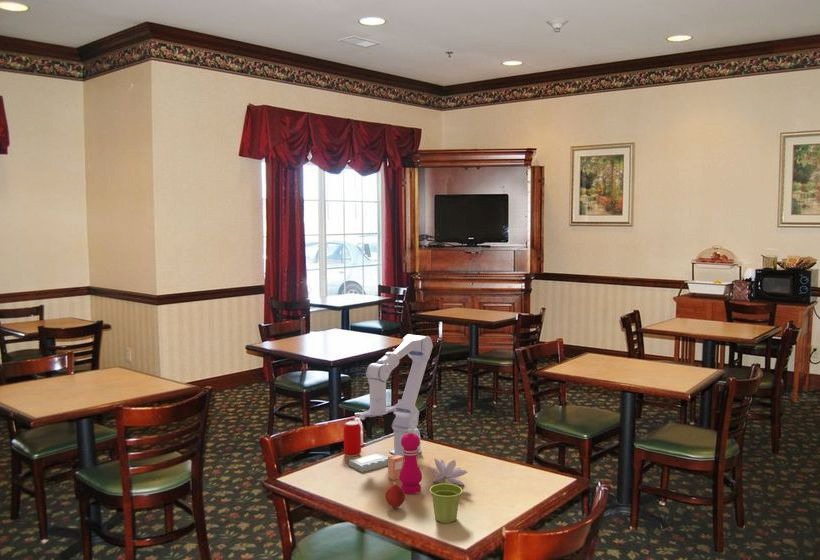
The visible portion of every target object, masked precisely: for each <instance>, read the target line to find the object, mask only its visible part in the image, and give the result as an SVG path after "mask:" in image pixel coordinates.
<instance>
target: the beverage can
mask: <svg viewBox="0 0 820 560" xmlns="http://www.w3.org/2000/svg"><path fill="white" fill-rule="evenodd" d="M361 427H362V426H361V425H360V423H359V422H358V421H355V420H352V421H351V420H350V421H347V422H345V424H344V426H343V454H344V456H347V457H349V456H350V457H351V458H353V457H354V456H355V457H357V456H359V455H360V454H361V453H362V438H361V437H362V432H361V431H362V430H361V429H362V428H361ZM355 457H354V458H355Z"/></svg>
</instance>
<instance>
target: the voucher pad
mask: <svg viewBox="0 0 820 560" xmlns="http://www.w3.org/2000/svg"><path fill="white" fill-rule="evenodd" d="M387 465H388V456H385V455H383V454H380V453H378V452H377V453H373V454H368V455H366V456H361V457H357V458H353V459H350V460H349V467H351V466H352V468H353V467H354V468H353V469H356V470H357V471H359V472H361V473H364V471H365V472H368V470H369V471H371V470H372V469H373V470H375V469H379V467H380V468H384V467H388V466H387ZM383 466H384V467H383Z"/></svg>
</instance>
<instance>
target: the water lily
mask: <svg viewBox="0 0 820 560" xmlns="http://www.w3.org/2000/svg"><path fill="white" fill-rule="evenodd" d="M434 463H435V467H436V469H437V470H436V469H435V468H434V467H431V466H426V468H427V469H428V470H430V472H432V473H434V475H436V476H437V477H434V478H433V479H432V481H433V482H434V483H441V482H442V484H446V480H447V481H448V482H450V483H451V484H453V485H457V486H465V483H464V482H463V481H461V480H460V479H459V480H458V479H457V478H460V477H463V476H464V475H467V473H468V471H467V470H464V469H462V467H458V468H456V465H457V461H456V459H452V460H450V461H449V462H448V463H447V464H446V462H445V461H444V460H443V459H442V458H441V459H440V461H439V460H438V459H437V458H434Z"/></svg>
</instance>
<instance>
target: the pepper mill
mask: <svg viewBox="0 0 820 560" xmlns="http://www.w3.org/2000/svg"><path fill="white" fill-rule="evenodd" d="M401 445H402V447H403V454H404V457H403V467H402V469H401V471H400V475H399V481H400V482H401V484H400V487H401V488H402V489H403V490H404V493H405V495H416V494H419V493H420V492H421V482H422V479H423V474H422V470H421V469H420V466H419V463H418V454H419V453H418V446H419V445H420V446H421V438H420V439H419V437H418V436H417V435H416V434H414V433H413V430H412V429H408V433H407V434H405V435H404V436H403V437H402V439H401Z"/></svg>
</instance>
